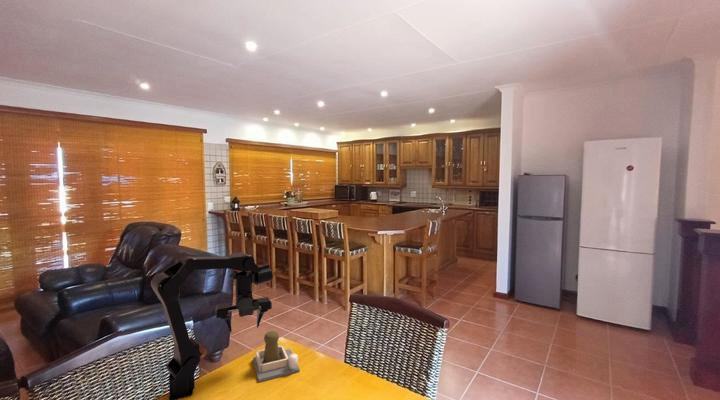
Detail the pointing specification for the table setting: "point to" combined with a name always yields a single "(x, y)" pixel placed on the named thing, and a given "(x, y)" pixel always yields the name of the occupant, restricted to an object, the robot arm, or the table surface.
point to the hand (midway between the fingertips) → (244, 329)
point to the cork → (271, 347)
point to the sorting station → (276, 365)
